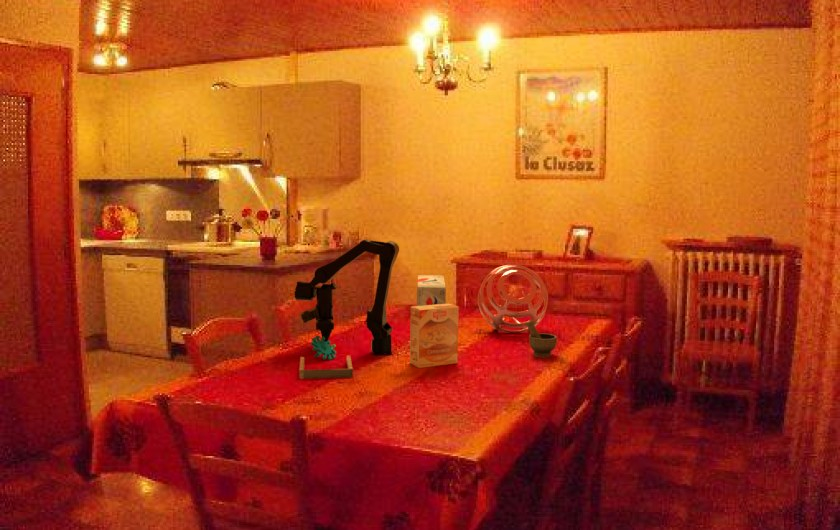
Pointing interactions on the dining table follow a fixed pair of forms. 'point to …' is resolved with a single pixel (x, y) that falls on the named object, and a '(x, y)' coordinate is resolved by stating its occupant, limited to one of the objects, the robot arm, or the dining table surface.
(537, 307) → the spiral basket
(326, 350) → the gear
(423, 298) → the soda pack
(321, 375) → the mount cradle
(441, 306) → the coffeecake box
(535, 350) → the mortar and pestle
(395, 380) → the dining table surface
